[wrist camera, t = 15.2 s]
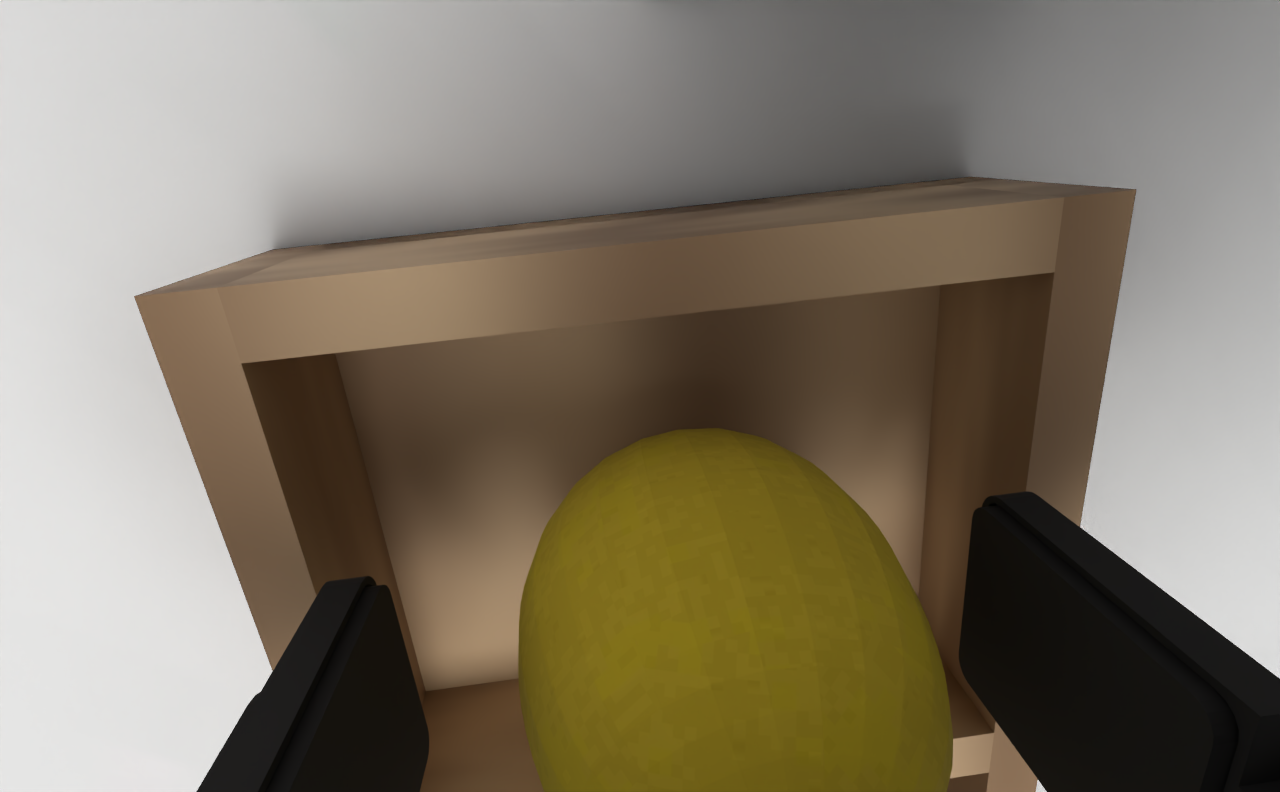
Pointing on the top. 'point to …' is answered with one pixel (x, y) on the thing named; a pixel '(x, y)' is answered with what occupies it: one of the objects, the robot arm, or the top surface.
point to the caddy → (637, 403)
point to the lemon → (725, 632)
